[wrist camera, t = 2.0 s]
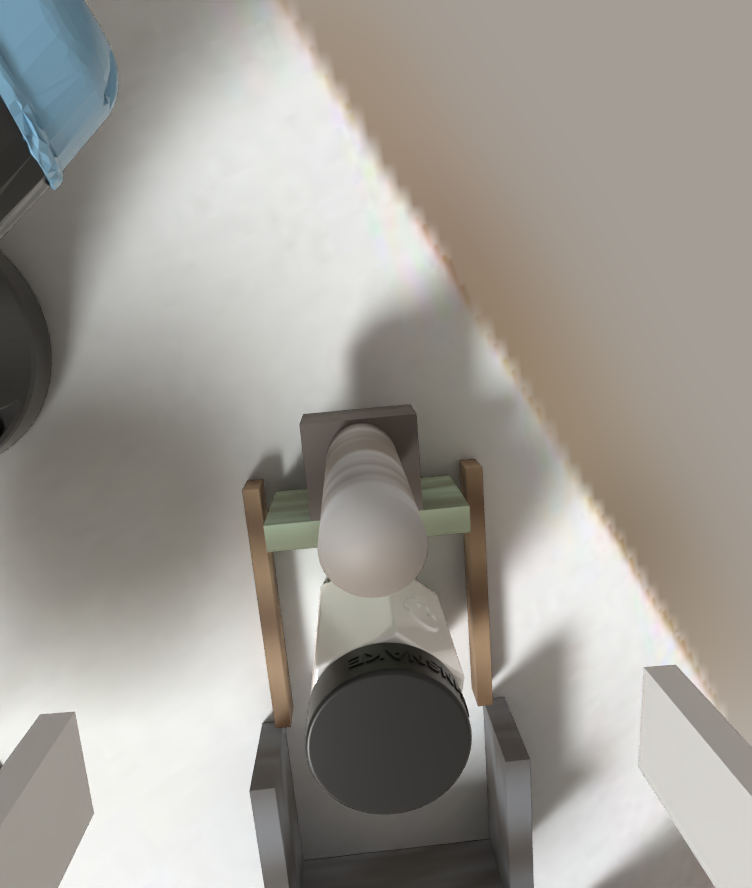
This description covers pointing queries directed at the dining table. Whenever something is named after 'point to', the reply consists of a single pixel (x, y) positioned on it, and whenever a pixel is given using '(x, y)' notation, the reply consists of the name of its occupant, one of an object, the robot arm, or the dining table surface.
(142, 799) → the dining table surface
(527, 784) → the lane
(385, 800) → the jar
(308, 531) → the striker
